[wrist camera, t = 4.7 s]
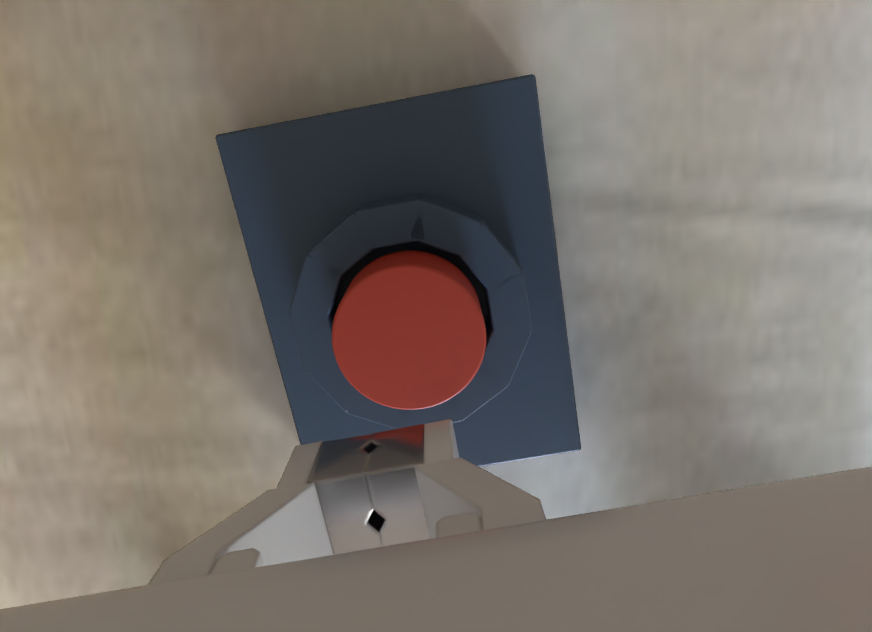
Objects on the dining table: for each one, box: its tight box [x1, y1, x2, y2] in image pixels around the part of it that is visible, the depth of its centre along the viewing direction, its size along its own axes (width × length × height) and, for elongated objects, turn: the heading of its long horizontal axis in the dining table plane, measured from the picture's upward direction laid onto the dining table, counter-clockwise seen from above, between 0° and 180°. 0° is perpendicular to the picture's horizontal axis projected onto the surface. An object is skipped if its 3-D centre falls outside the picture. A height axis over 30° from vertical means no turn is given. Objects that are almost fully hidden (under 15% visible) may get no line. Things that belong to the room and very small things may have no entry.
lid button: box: [332, 250, 486, 410], centre depth 18 cm, size 4×4×2 cm
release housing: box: [216, 74, 581, 467], centre depth 21 cm, size 13×10×4 cm
